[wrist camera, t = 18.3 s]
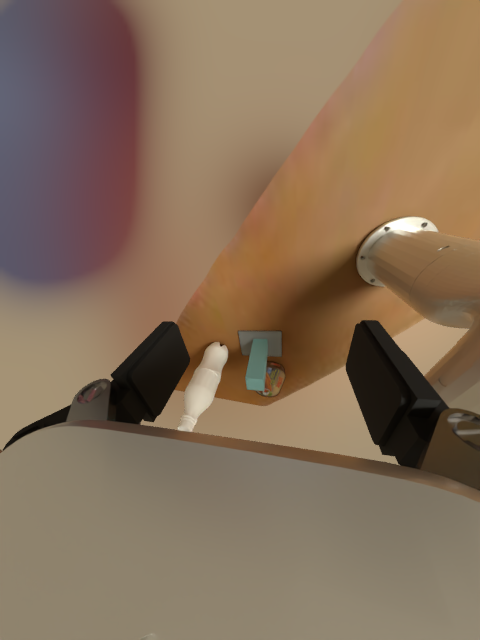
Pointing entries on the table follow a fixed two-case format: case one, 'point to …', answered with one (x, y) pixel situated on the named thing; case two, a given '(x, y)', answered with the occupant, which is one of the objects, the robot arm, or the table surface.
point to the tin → (273, 380)
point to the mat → (271, 336)
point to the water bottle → (203, 385)
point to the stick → (257, 365)
